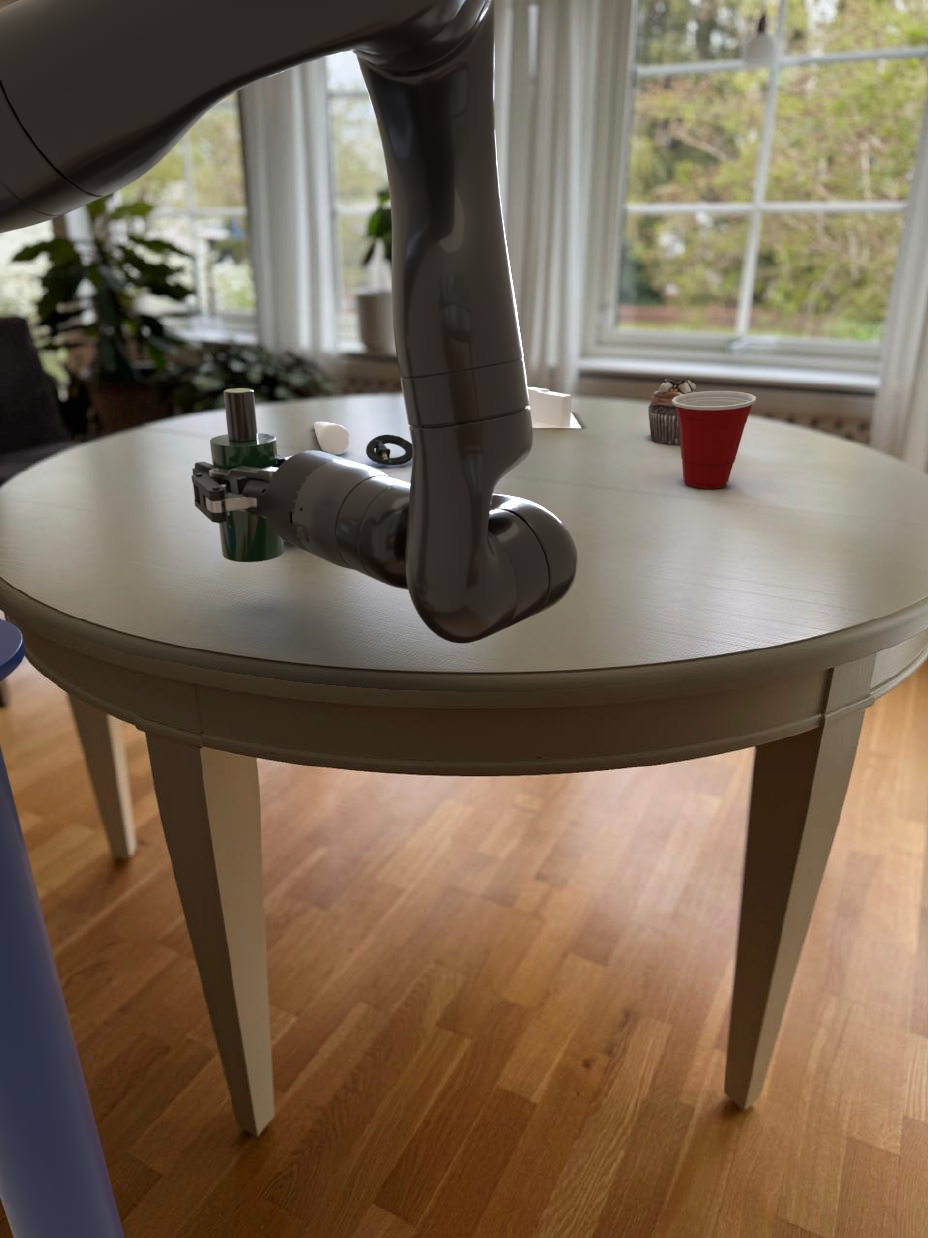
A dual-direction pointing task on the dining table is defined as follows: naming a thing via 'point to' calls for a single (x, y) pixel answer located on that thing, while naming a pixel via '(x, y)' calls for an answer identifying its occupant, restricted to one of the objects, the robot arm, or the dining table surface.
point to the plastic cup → (711, 434)
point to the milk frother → (388, 450)
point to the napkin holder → (551, 409)
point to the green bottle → (247, 448)
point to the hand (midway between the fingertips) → (232, 468)
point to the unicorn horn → (332, 437)
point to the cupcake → (667, 410)
